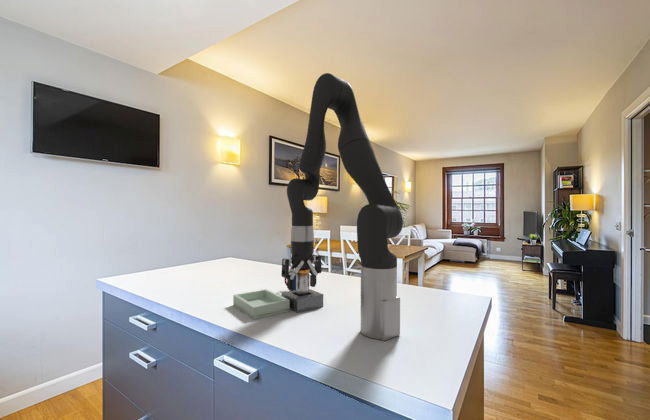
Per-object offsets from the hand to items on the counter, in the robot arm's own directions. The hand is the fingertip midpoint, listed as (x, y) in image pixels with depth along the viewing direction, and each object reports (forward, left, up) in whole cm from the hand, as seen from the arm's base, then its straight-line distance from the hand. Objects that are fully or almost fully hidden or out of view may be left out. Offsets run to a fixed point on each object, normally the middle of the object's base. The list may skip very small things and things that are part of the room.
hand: (302, 288), depth 99 cm
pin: (0, 0, -6) cm, 6 cm away
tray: (+6, +12, -6) cm, 15 cm away
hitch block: (0, 0, -6) cm, 6 cm away
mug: (+16, -8, -6) cm, 19 cm away
